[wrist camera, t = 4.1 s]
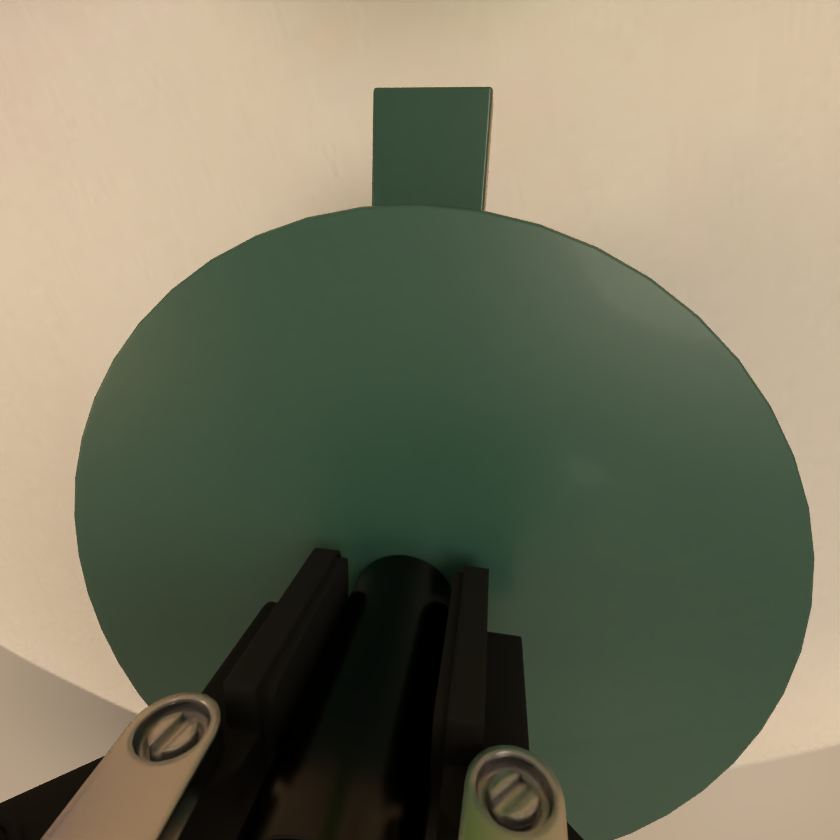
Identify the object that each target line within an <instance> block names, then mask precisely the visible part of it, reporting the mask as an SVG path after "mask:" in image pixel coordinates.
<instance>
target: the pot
mask: <svg viewBox="0 0 840 840" xmlns="http://www.w3.org/2000/svg"><path fill="white" fill-rule="evenodd" d="M492 114H493V89H492V88H491V87H415V88H375V89H374V95H373V169H372V206H389V205H410V204H425V205H435V206H446V207H456V208H467V209H477V210H483V211H485V208H486V195H487V181H488V168H489V154H490V141H491V127H492Z"/></svg>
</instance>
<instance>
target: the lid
mask: <svg viewBox="0 0 840 840" xmlns="http://www.w3.org/2000/svg"><path fill="white" fill-rule="evenodd" d="M75 525H76V534H77V543H78V552H79V558H80V562H81V566H82V570H83V575H84V579H85V583H86V587H87V591H88V594H89V597H90V600H91V603H92V605H93V608H94V611H95V613H96V616H97V619H98V621H99V624H100V627H101V629H102V631H103V633H104V635H105V637H106V639H107V641H108V643H109V645H110V647H111V649H112V651H113V653H114V655H115V657H116V659H117V661H118V663H119V664H120V666H121V667H122V669H123V670H124V672H125V674H126V675H127V677H128V678H129V680H130V681H131V683H132V684H133V686H134V687H135V689H136V690H137V692H138V693H139V695H140V696H141V697H142V699H143V700H144V701H145V702H146V704H147V705H148V706H150V705H151V704H153V703H154V702H156V701H158V700H160V699H162V698H165V697H167V696H169V695H173V694H177V693H182V692H199V693H202V691H203V690H204V689H205V687H206V686H207V684H208V683H209V682H210V680H211V679H212V677H213V676H214V675H215V673H216V672H217V670H218V669H219V668H220V666H221V665H222V663H223V662H224V661H225V659H226V658H227V656H228V655H229V654H230V652H231V651H232V649H233V648H234V647H235V645H236V644H237V642H238V641H239V640H240V638H241V637H242V635H243V634H244V633H245V631H246V630H247V628H248V627H249V626H250V624H251V623H252V622H253V620H254V619H255V617H256V616H257V615H258V613H259V612H260V610H261V609H262V608H263V606H264V605H265V604H266V603H268V602H270V601H271V602H278V601H279V599H280V598H281V597H282V595H283V594H284V592H285V591H286V589H287V588H288V586H289V585H290V583H291V582H292V580H293V579H294V577H295V576H296V574H297V573H298V572H299V570H300V569H301V567H302V566H303V564H304V563H305V561H306V560H307V558H308V557H309V555H310V554H311V552H312V551H313V550H314V549H315V548H324V549H333V550H339V551H340V553H341V557H345V558H347V559H348V600H347V603H346V605H345V607H344V609H343V611H342V613H341V615H340V618H339V620H338V622H337V624H336V626H335V628H334V631H333V633H332V635H331V637H330V639H329V641H328V643H327V646H326V648H325V650H324V652H323V654H322V656H321V658H320V661H319V663H318V665H317V667H316V669H315V671H314V673H313V676H312V678H311V680H310V682H309V684H308V686H307V689H306V691H305V693H304V695H303V697H302V699H301V701H300V704H299V706H298V708H297V710H296V712H295V714H294V716H293V719H292V721H291V723H290V725H289V727H288V729H287V731H286V734H285V736H284V738H283V740H282V742H281V744H280V747H279V749H278V751H277V753H276V755H275V757H274V759H273V762H272V764H271V766H270V768H269V770H268V772H267V774H266V777H265V779H264V781H263V783H262V785H261V787H260V789H259V792H258V794H257V796H256V798H255V800H254V802H253V805H252V807H251V809H250V811H249V813H248V815H247V817H246V820H245V822H244V824H243V826H242V828H241V830H240V832H239V835H238V837H237V839H236V840H425V838H426V830H427V822H428V814H429V806H430V798H431V787H430V782H429V773H430V757H431V741H432V727H433V717H434V708H435V700H436V693H437V687H438V680H439V673H440V666H441V659H442V653H443V646H444V639H445V632H446V626H447V619H448V612H449V605H450V598H451V592H452V585H453V578H454V572H455V571H458V572H464V568H465V566H472V567H480V568H488V569H489V587H488V621H487V632H494V633H501V634H508V635H515V636H521V638H522V648H523V663H524V677H525V692H526V707H527V722H528V736H529V751H530V752H532V753H533V754H535V755H536V756H538V757H539V758H541V759H542V760H543V761H544V762H545V763H546V764H547V765H548V766H549V767H550V768H551V769H552V770H553V772H554V774H555V775H556V777H557V779H558V781H559V783H560V784H561V787H562V791H563V795H564V800H565V808H566V820H567V822H568V823H569V824H570V825H571V826H572V828H573V829H574V830H575V831H576V832H577V833H578V834H579V835H580V836H581V837H582V838H583V839H584V840H614V839H617V838H619V837H622V836H625V835H628V834H631V833H632V832H635V831H637V830H638V829H640V828H642V827H644V826H646V825H648V824H650V823H652V822H654V821H656V820H658V819H660V818H662V817H664V816H666V815H668V814H669V813H671V812H672V811H674V810H675V809H677V808H678V807H680V806H681V805H683V804H684V803H686V802H687V801H689V800H690V799H691V798H693V797H695V796H696V795H697V794H699V793H700V792H702V791H703V790H704V789H705V788H706V787H708V786H709V785H710V784H711V783H712V782H713V781H714V780H715V779H717V778H718V777H719V776H720V775H721V774H722V773H723V772H724V771H725V770H727V769H728V768H729V767H730V766H731V765H732V764H733V763H734V762H735V761H736V760H737V759H738V757H739V756H740V755H741V754H742V753H743V751H744V750H745V749H746V748H747V747H748V745H749V744H750V743H751V742H752V741H753V740H754V738H755V737H756V736H757V735H758V734H759V732H760V731H761V730H762V728H763V727H764V725H765V723H766V722H767V720H768V718H769V717H770V715H771V713H772V712H773V710H774V709H775V707H776V705H777V704H778V702H779V700H780V699H781V697H782V695H783V694H784V692H785V689H786V687H787V684H788V682H789V680H790V677H791V675H792V672H793V670H794V667H795V665H796V663H797V660H798V658H799V655H800V653H801V650H802V645H803V641H804V637H805V632H806V628H807V624H808V619H809V615H810V610H811V606H812V589H813V572H814V551H813V542H812V532H811V523H810V514H809V507H808V503H807V500H806V496H805V493H804V489H803V486H802V482H801V479H800V475H799V471H798V468H797V464H796V461H795V457H794V455H793V453H792V450H791V448H790V446H789V444H788V442H787V440H786V438H785V436H784V433H783V431H782V429H781V427H780V425H779V423H778V421H777V418H776V416H775V414H774V412H773V410H772V408H771V406H770V404H769V403H768V402H767V400H766V399H765V397H764V396H763V394H762V393H761V391H760V390H759V388H758V387H757V385H756V384H755V382H754V381H753V379H752V378H751V377H750V375H749V374H748V372H747V371H746V369H745V368H744V366H743V365H742V363H741V362H740V360H739V359H738V358H737V357H736V356H735V355H734V354H733V353H732V351H731V350H730V349H729V348H728V347H727V346H726V345H725V344H724V343H723V342H722V341H721V340H720V339H719V338H718V336H717V335H716V334H715V333H714V332H713V331H712V330H711V329H710V328H709V327H708V326H707V325H706V324H705V323H704V321H703V320H702V319H701V318H700V317H699V316H698V315H696V314H695V313H694V312H693V311H691V310H690V309H689V308H688V307H686V306H685V305H684V304H683V303H681V302H680V301H679V300H678V299H676V298H675V297H674V296H673V295H671V294H670V293H669V292H667V291H666V290H665V289H664V288H662V287H661V286H660V285H659V284H657V283H656V282H655V281H654V280H652V279H651V278H649V277H648V276H646V275H644V274H643V273H641V272H639V271H637V270H636V269H634V268H632V267H630V266H629V265H627V264H625V263H624V262H622V261H620V260H618V259H617V258H615V257H613V256H611V255H610V254H608V253H606V252H605V251H603V250H601V249H599V248H598V247H595V246H593V245H590V244H588V243H585V242H583V241H580V240H578V239H575V238H573V237H570V236H568V235H565V234H563V233H560V232H558V231H555V230H553V229H550V228H548V227H545V226H543V225H540V224H536V223H532V222H528V221H524V220H520V219H516V218H512V217H508V216H504V215H499V214H495V213H491V212H487V211H483V210H477V209H467V208H456V207H446V206H435V205H425V204H410V205H389V206H368V207H358V208H353V209H348V210H343V211H338V212H333V213H328V214H323V215H317V216H312V217H307V218H304V219H301V220H299V221H296V222H293V223H290V224H287V225H284V226H282V227H279V228H276V229H273V230H270V231H268V232H265V233H262V234H259V235H256V236H254V237H253V238H251V239H249V240H247V241H245V242H243V243H241V244H240V245H238V246H236V247H234V248H232V249H230V250H228V251H227V252H225V253H223V254H221V255H219V256H217V257H215V258H213V259H212V260H210V261H209V262H207V263H206V264H205V265H204V266H202V267H201V268H200V269H198V270H197V271H196V272H194V273H193V274H192V275H190V276H189V277H188V278H186V279H185V280H184V281H182V282H181V283H180V284H178V285H177V286H176V287H174V288H173V289H172V290H171V291H170V292H169V293H168V294H167V295H166V296H165V297H164V298H163V299H162V300H161V301H160V302H159V303H158V304H157V305H156V306H155V307H154V308H153V309H152V311H151V312H150V313H149V314H148V315H147V316H146V317H145V318H144V319H143V320H142V321H141V322H140V323H139V324H138V326H137V327H136V328H135V330H134V331H133V333H132V334H131V336H130V337H129V338H128V340H127V341H126V343H125V344H124V345H123V347H122V348H121V350H120V351H119V353H118V354H117V355H116V357H115V358H114V360H113V362H112V364H111V366H110V368H109V370H108V372H107V374H106V376H105V378H104V380H103V382H102V384H101V386H100V388H99V390H98V392H97V394H96V396H95V398H94V401H93V404H92V408H91V411H90V414H89V417H88V420H87V423H86V426H85V430H84V433H83V436H82V440H81V446H80V453H79V459H78V465H77V471H76V477H75Z"/></svg>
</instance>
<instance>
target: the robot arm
mask: <svg viewBox="0 0 840 840" xmlns="http://www.w3.org/2000/svg"><path fill="white" fill-rule="evenodd" d="M488 587H489V569H488V568H480V567H472V566H465V568H464V572H458V571H455V572H454V578H453V585H452V592H451V598H450V605H449V612H448V619H447V626H446V632H445V639H444V646H443V653H442V659H441V666H440V673H439V680H438V687H437V693H436V700H435V708H434V717H433V727H432V741H431V757H430V773H429V782H430V787H431V798H430V806H429V814H428V822H427V830H426V838H425V840H584V839H583V838H582V837H581V836H580V835H579V834H578V833H577V832H576V831H575V830H574V829H573V828H572V826H571V825H570V824H569V823H568V822H567V820H566V808H565V800H564V795H563V791H562V787H561V784H560V783H559V781H558V779H557V777H556V775H555V774H554V772H553V770H552V769H551V768H550V767H549V766H548V765H547V764H546V763H545V762H544V761H543V760H542V759H541V758H539V757H538V756H536V755H535V754H533V753H532V752H530V751H529V736H528V722H527V707H526V692H525V677H524V663H523V648H522V638H521V636H515V635H508V634H501V633H494V632H487V621H488ZM347 600H348V559H347V558H345V557H341V553H340V551H339V550H333V549H324V548H315V549H314V550H313V551H312V552H311V554H310V555H309V557H308V558H307V560H306V561H305V563H304V564H303V566H302V567H301V569H300V570H299V572H298V573H297V574H296V576H295V577H294V579H293V580H292V582H291V583H290V585H289V586H288V588H287V589H286V591H285V592H284V594H283V595H282V597H281V598H280V599H279V601H278V602H271V601H270V602H268V603H266V604H265V605H264V606H263V608H262V609H261V610H260V612H259V613H258V615H257V616H256V617H255V619H254V620H253V622H252V623H251V624H250V626H249V627H248V628H247V630H246V631H245V633H244V634H243V635H242V637H241V638H240V640H239V641H238V642H237V644H236V645H235V647H234V648H233V649H232V651H231V652H230V654H229V655H228V656H227V658H226V659H225V661H224V662H223V663H222V665H221V666H220V668H219V669H218V670H217V672H216V673H215V675H214V676H213V677H212V679H211V680H210V682H209V683H208V684H207V686H206V687H205V689H204V690H203V691H202V693H199V692H182V693H177V694H173V695H169V696H167V697H165V698H162V699H160V700H158V701H156V702H154V703H153V704H151V705H150V706H148V707H147V708H145V709H144V710H143V711H141V712H140V713H139V714H138V715H137V716H136V717H135V719H134V720H133V721H132V722H131V723H130V724H129V725H128V727H127V728H126V729H125V730H124V732H123V733H122V734H121V736H120V737H119V738H118V740H117V741H116V742H115V743H114V745H113V746H112V747H111V749H110V750H109V751H108V753H107V754H106V755H105V756H103V757H101V758H99V759H97V760H95V761H92V762H90V763H88V764H86V765H84V766H81V767H79V768H77V769H75V770H73V771H70V772H68V773H66V774H64V775H61V776H59V777H57V778H55V779H53V780H51V781H48V782H46V783H44V784H42V785H39V786H38V787H35V788H33V789H31V790H28V791H26V792H24V793H22V794H20V795H17V796H15V797H13V798H11V799H8V800H6V801H4V802H2V803H0V840H236V839H237V837H238V835H239V832H240V830H241V828H242V826H243V824H244V822H245V820H246V817H247V815H248V813H249V811H250V809H251V807H252V805H253V802H254V800H255V798H256V796H257V794H258V792H259V789H260V787H261V785H262V783H263V781H264V779H265V777H266V774H267V772H268V770H269V768H270V766H271V764H272V762H273V759H274V757H275V755H276V753H277V751H278V749H279V747H280V744H281V742H282V740H283V738H284V736H285V734H286V731H287V729H288V727H289V725H290V723H291V721H292V719H293V716H294V714H295V712H296V710H297V708H298V706H299V704H300V701H301V699H302V697H303V695H304V693H305V691H306V689H307V686H308V684H309V682H310V680H311V678H312V676H313V673H314V671H315V669H316V667H317V665H318V663H319V661H320V658H321V656H322V654H323V652H324V650H325V648H326V646H327V643H328V641H329V639H330V637H331V635H332V633H333V631H334V628H335V626H336V624H337V622H338V620H339V618H340V615H341V613H342V611H343V609H344V607H345V605H346V603H347Z"/></svg>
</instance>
